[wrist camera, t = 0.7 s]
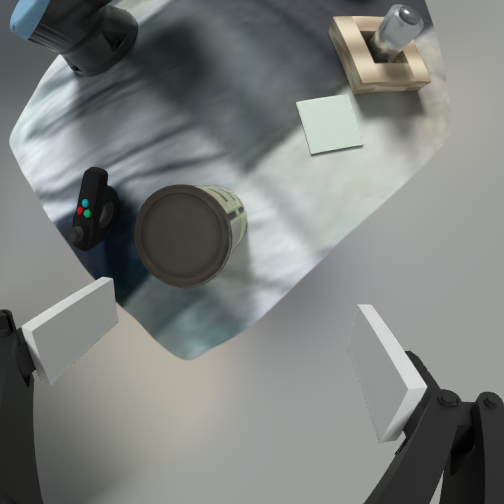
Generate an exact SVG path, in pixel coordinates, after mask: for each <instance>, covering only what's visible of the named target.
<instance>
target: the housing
mask: <svg viewBox="0 0 504 504" xmlns="http://www.w3.org/2000/svg"><path fill="white" fill-rule="evenodd" d="M384 18H385V17H365V16H345V17H333V19H332V22H331V25H330V28H329V32H328V33H329V36H330V38H331V40H332V42H333V44H334V47H335V49H336V51H337V54H338V56H339V58H340V61H341V63H342V66H343V68H344V71H345V73H346V76H347V78H348V81H349V84H350V87H351V89H352V92H353V94H363V93H375V92H391V91H418V90H419V89H421V88H422V87H424V86H425V85H427V84H428V83H430V82H431V79H430V77H429V74H428V72H427V69H426V67H425V65H424V63H423V60H422V58H421V56H420V54H419V52H418V49H417V47H416V45H415V43H414V41H413V40H412V41H411V42H410V43H409V44H408V45H407V46H406V47H405V48H404V49H403V50H402V51H401V52H400V53H399V54H398V55H397V57H396V58H395V59H394V60H393V61H392V62H391V63H376V64H374V61H373V59H372V57H371V54H370V52H369V50H368V48H367V46H366V45H368V43H369V42H370V40H371V38H372V37H373V35H374V34H375V32H376V31H377V29H378V28H379V26H380V24H381V23H382V21H383V20H384Z"/></svg>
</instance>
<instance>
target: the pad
mask: <svg viewBox="0 0 504 504" xmlns="http://www.w3.org/2000/svg"><path fill="white" fill-rule="evenodd" d="M296 105H297V108H298V111H299V115H300V118H301V121H302V125H303V128H304V131H305V135H306V139H307V142H308V146H309V149H310V153H311V154H314V153H320V152H325V151H330V150H336V149H341V148H347V147H353V146H359V145H363V141H362V138H361V134H360V131H359V127H358V124H357V121H356V117H355V114H354V111H353V108H352V105H351V102H350V99H349V96H348V94H346V95H338V96H331V97H324V98H317V99H311V100H305V101H300V102H296Z"/></svg>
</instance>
